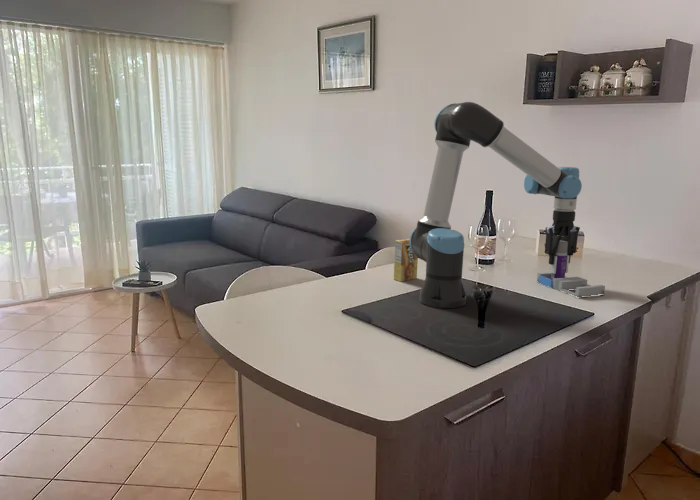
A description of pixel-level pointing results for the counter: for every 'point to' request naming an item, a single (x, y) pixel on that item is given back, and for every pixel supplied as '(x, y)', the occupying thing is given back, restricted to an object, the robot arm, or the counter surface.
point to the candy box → (404, 261)
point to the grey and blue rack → (570, 285)
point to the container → (561, 260)
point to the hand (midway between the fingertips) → (558, 272)
